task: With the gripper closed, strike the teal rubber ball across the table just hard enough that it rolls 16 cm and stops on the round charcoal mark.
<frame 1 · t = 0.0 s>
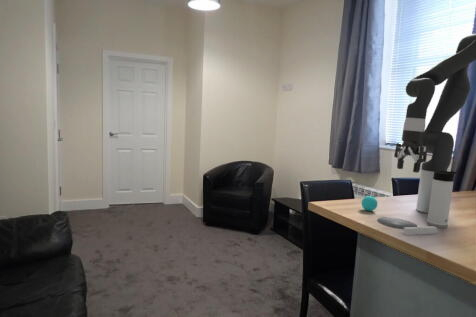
hand: (407, 170, 136), 17 cm above the worktop, tool pointing down, fingers open, 8 cm apart
travel mug: (437, 226, 122), on the worktop
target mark: (396, 223, 122), on the worktop
ball: (369, 203, 137), on the worktop
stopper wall: (419, 233, 112), on the worktop
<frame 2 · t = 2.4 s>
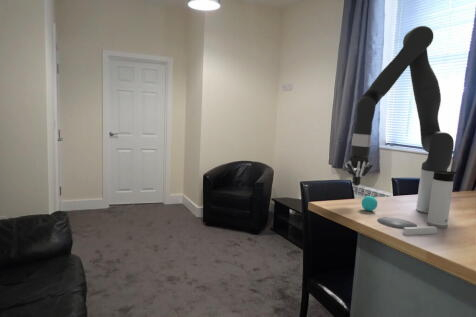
hand: (355, 185, 145), 8 cm above the worktop, tool pointing down, fingers closed
nothing on the worktop moved.
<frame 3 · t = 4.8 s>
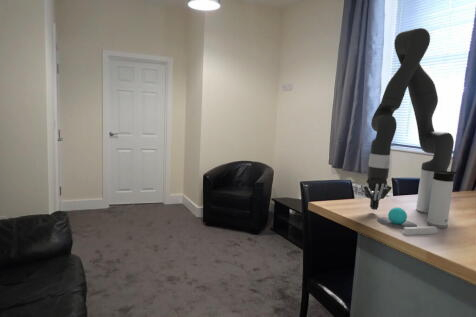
hand: (373, 209, 134), 1 cm above the worktop, tool pointing down, fingers closed
ball: (397, 216, 120), on the worktop
everything else where it was.
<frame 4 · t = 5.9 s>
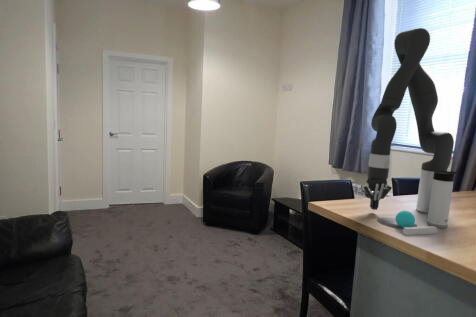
hand: (373, 209, 134), 1 cm above the worktop, tool pointing down, fingers closed
ball: (405, 219, 116), on the worktop
everything else where it was.
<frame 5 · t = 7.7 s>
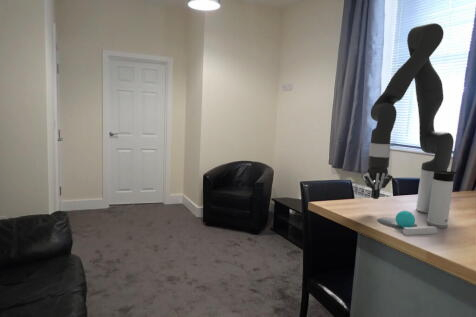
hand: (375, 198, 134), 6 cm above the worktop, tool pointing down, fingers closed
nothing on the worktop moved.
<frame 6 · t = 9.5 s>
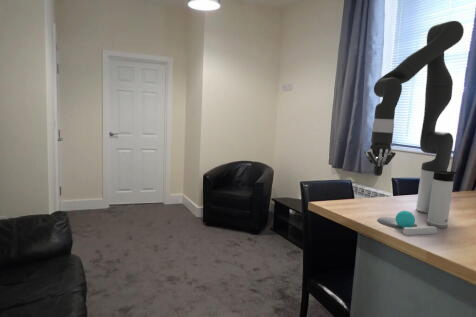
hand: (377, 175, 132), 15 cm above the worktop, tool pointing down, fingers closed
nothing on the worktop moved.
at the end: ball 5.1 cm from the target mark (horizontally); ball at rest at the end (0.0 cm/s); ball moved 21.0 cm from its start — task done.
